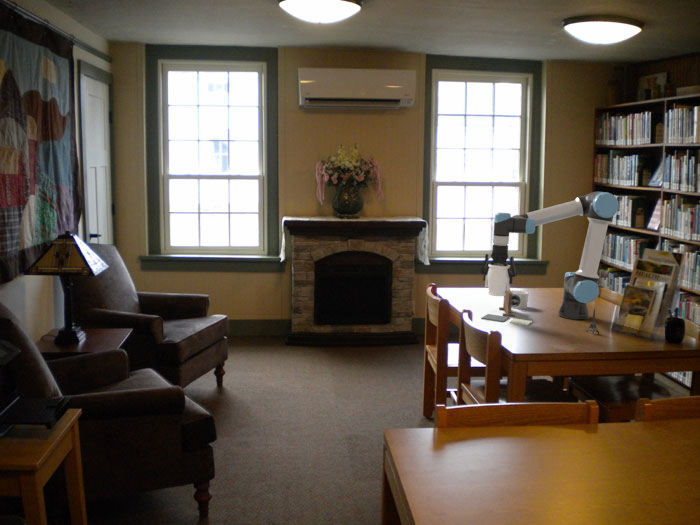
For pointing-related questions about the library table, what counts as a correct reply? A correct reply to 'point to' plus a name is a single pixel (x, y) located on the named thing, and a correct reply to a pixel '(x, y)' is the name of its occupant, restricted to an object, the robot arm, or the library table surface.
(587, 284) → the robot arm
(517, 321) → the sage mat
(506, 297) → the screen
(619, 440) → the library table surface
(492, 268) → the jar
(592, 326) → the eiffel tower figurine
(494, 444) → the library table surface
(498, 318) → the grey mat
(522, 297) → the mug
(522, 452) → the library table surface
